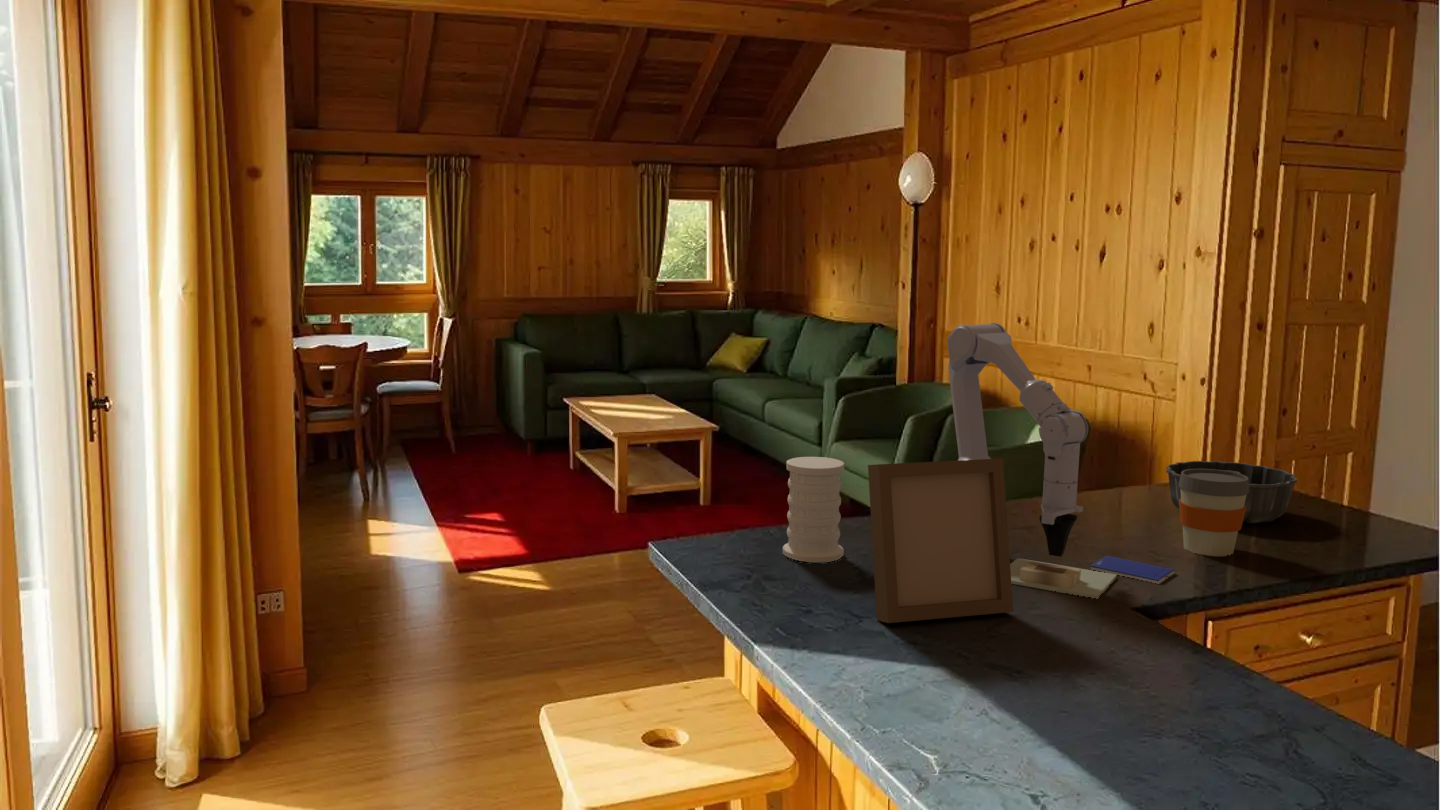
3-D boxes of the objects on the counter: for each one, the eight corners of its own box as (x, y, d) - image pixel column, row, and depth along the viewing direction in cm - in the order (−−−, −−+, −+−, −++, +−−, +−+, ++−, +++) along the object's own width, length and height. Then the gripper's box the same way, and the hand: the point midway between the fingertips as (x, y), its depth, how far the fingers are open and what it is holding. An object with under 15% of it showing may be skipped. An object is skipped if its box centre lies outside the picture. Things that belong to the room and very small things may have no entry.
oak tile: (1029, 571, 199) (1019, 580, 194) (1030, 560, 198) (1020, 569, 193) (1080, 580, 194) (1071, 589, 189) (1080, 569, 194) (1071, 577, 189)
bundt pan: (1139, 503, 254) (1142, 460, 252) (1241, 499, 258) (1245, 457, 257) (1209, 533, 228) (1213, 486, 227) (1321, 529, 233) (1325, 482, 231)
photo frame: (1012, 617, 176) (1021, 465, 172) (887, 629, 171) (893, 471, 167) (968, 588, 190) (975, 447, 187) (851, 598, 185) (856, 452, 181)
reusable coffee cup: (1229, 542, 222) (1236, 469, 219) (1253, 560, 209) (1260, 483, 207) (1165, 539, 223) (1171, 467, 220) (1185, 557, 210) (1191, 481, 208)
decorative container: (822, 567, 202) (825, 471, 199) (770, 555, 209) (772, 463, 206) (854, 553, 211) (857, 461, 208) (803, 542, 218) (806, 453, 215)
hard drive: (1090, 564, 202) (1159, 578, 194) (1107, 554, 208) (1174, 568, 200) (1090, 572, 202) (1158, 587, 194) (1107, 562, 208) (1174, 576, 200)
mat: (993, 580, 195) (993, 577, 195) (1017, 561, 207) (1017, 558, 207) (1097, 599, 186) (1097, 595, 186) (1116, 577, 197) (1116, 574, 197)
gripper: (1073, 491, 185) (1068, 568, 187) (1094, 475, 197) (1089, 548, 199) (1031, 485, 188) (1027, 562, 191) (1054, 470, 201) (1050, 542, 203)
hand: (1056, 555), depth 195 cm, fingers closed
